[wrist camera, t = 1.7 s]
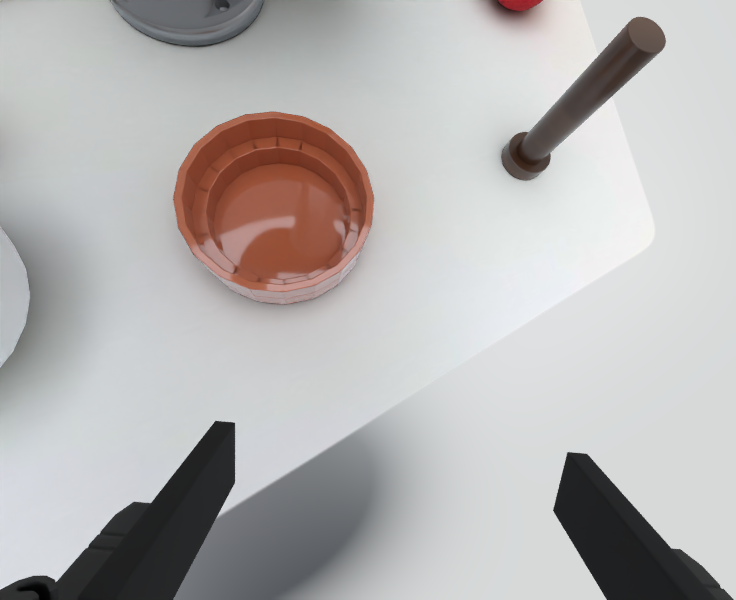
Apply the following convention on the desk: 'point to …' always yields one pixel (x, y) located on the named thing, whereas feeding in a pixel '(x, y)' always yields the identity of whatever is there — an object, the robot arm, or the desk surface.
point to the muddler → (584, 97)
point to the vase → (11, 297)
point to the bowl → (274, 206)
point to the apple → (519, 4)
